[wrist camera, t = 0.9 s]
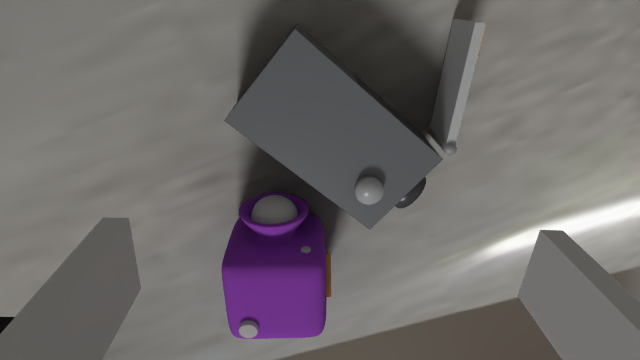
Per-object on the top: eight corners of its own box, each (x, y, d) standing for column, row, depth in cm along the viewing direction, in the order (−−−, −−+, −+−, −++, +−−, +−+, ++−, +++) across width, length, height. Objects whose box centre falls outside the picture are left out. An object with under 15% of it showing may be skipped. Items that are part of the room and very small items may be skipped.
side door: (451, 18, 34) (475, 22, 29) (468, 19, 34) (495, 24, 29) (426, 134, 39) (443, 154, 34) (441, 135, 39) (460, 156, 34)
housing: (236, 102, 37) (222, 123, 31) (297, 23, 34) (294, 29, 28) (373, 207, 42) (383, 243, 36) (435, 145, 39) (458, 173, 33)
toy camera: (315, 168, 40) (316, 219, 31) (338, 274, 46) (345, 343, 37) (212, 188, 41) (184, 243, 32) (248, 290, 47) (233, 361, 38)
